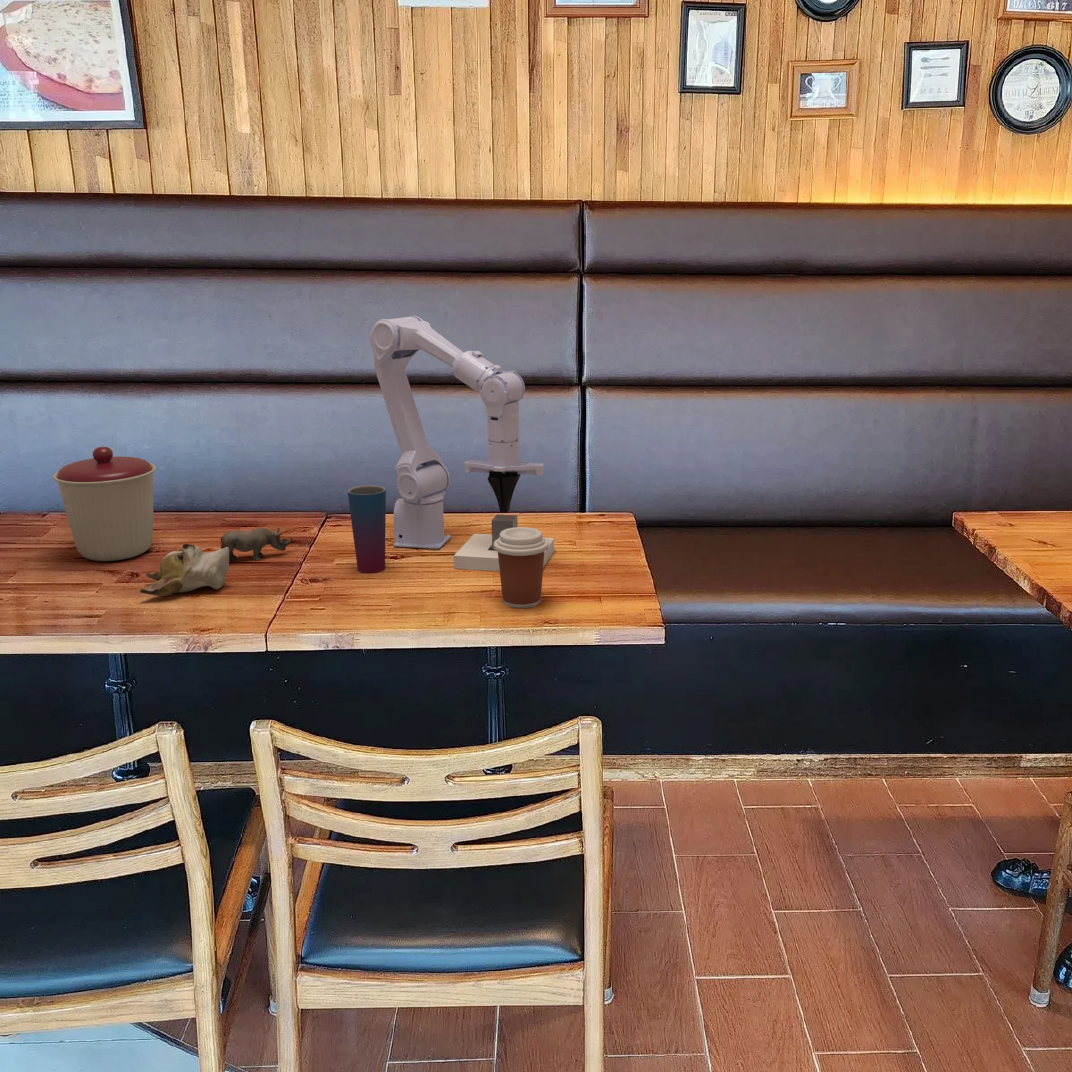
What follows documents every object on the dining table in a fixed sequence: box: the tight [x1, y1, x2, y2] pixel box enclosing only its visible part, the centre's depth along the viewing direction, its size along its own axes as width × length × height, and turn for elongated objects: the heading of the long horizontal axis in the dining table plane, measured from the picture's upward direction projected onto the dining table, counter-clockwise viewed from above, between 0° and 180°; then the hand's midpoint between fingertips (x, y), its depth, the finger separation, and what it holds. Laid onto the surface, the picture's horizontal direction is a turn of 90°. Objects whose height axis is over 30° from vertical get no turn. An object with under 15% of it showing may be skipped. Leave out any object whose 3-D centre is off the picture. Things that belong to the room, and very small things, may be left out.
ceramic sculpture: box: [139, 543, 230, 597], centre depth 174 cm, size 11×9×15 cm
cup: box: [347, 484, 387, 574], centre depth 183 cm, size 7×7×15 cm
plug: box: [491, 514, 519, 551], centre depth 189 cm, size 4×4×8 cm
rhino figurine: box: [220, 527, 293, 562], centre depth 191 cm, size 4×14×6 cm, turn 112°
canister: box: [52, 446, 157, 562], centre depth 192 cm, size 18×18×21 cm
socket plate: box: [453, 533, 555, 572], centre depth 190 cm, size 16×14×2 cm
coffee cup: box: [493, 526, 549, 609], centre depth 167 cm, size 9×9×12 cm
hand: (504, 511), depth 187 cm, fingers closed
